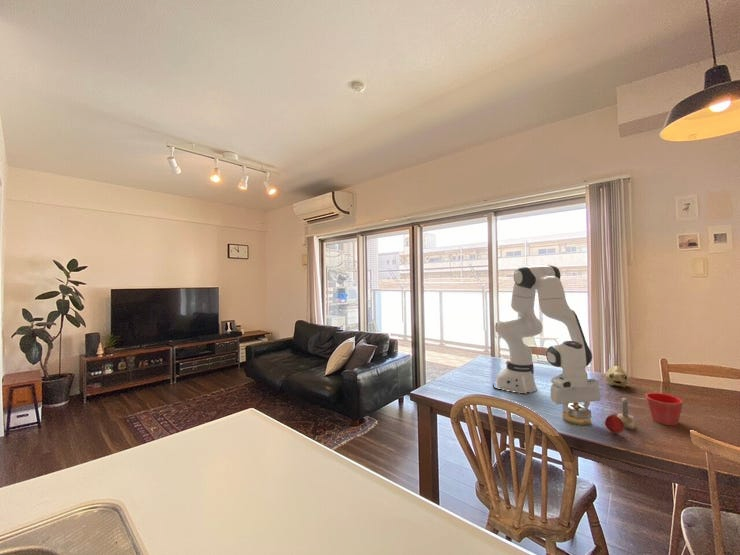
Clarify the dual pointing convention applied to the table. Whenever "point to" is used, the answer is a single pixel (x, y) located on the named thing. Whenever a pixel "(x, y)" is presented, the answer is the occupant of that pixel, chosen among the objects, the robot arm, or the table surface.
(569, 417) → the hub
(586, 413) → the white flat block
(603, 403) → the table surface
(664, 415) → the flower pot
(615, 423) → the red rounded piece
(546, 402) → the table surface
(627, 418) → the stand
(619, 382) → the toy pig
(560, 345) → the robot arm
